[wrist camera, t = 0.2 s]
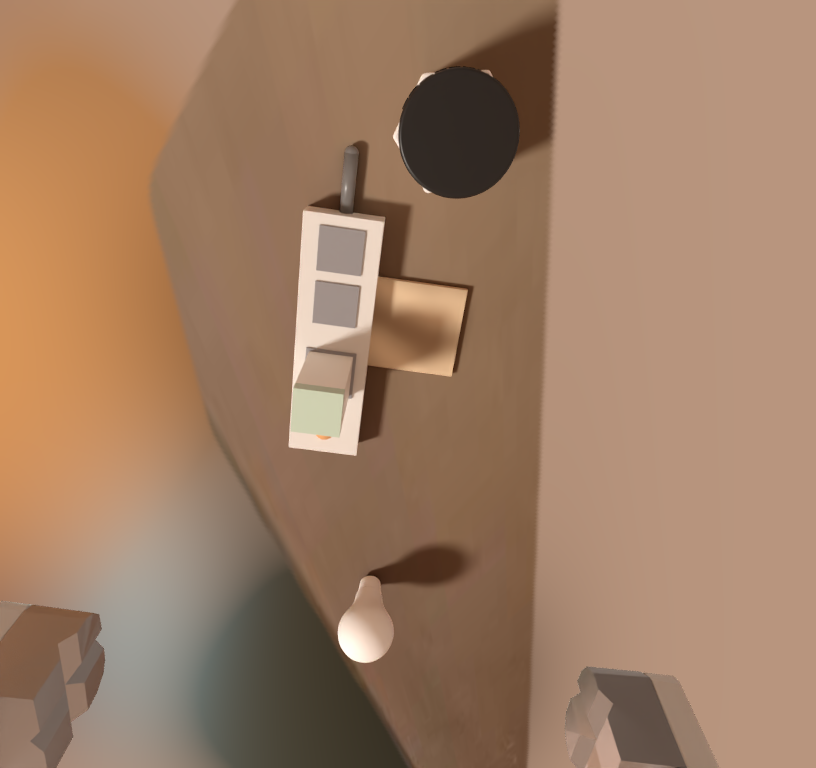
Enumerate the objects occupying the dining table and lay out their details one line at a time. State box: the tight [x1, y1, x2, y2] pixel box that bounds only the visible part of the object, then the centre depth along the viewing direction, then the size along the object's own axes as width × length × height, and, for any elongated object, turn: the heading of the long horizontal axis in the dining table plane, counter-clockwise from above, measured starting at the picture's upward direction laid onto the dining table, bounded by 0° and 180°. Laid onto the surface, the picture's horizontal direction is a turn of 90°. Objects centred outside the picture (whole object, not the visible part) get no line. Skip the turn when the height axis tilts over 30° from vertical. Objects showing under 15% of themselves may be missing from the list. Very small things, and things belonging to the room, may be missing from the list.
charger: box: [291, 351, 353, 438], centre depth 53 cm, size 4×4×8 cm
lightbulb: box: [338, 576, 394, 663], centre depth 67 cm, size 6×6×11 cm
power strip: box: [289, 145, 385, 455], centre depth 56 cm, size 30×7×3 cm, turn 172°
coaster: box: [368, 276, 468, 376], centre depth 57 cm, size 9×9×1 cm
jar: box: [393, 66, 520, 199], centre depth 44 cm, size 9×8×12 cm
